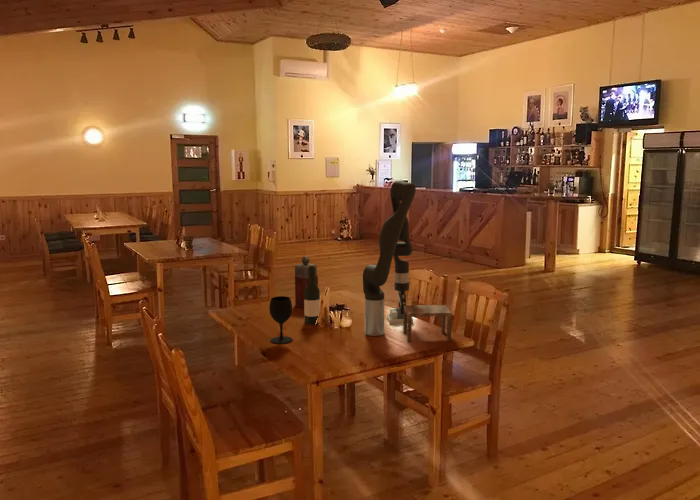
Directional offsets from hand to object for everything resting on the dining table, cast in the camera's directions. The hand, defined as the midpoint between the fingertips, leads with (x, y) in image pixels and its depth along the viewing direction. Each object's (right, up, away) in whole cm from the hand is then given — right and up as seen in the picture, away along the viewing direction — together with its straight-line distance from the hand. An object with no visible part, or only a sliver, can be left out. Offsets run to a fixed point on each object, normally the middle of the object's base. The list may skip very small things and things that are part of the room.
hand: (401, 311), depth 298 cm
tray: (-1, -5, +1) cm, 5 cm away
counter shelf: (+9, -9, -24) cm, 27 cm away
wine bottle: (-46, -6, 0) cm, 46 cm away
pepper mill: (-51, 0, +34) cm, 61 cm away
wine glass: (-58, -11, -29) cm, 66 cm away
